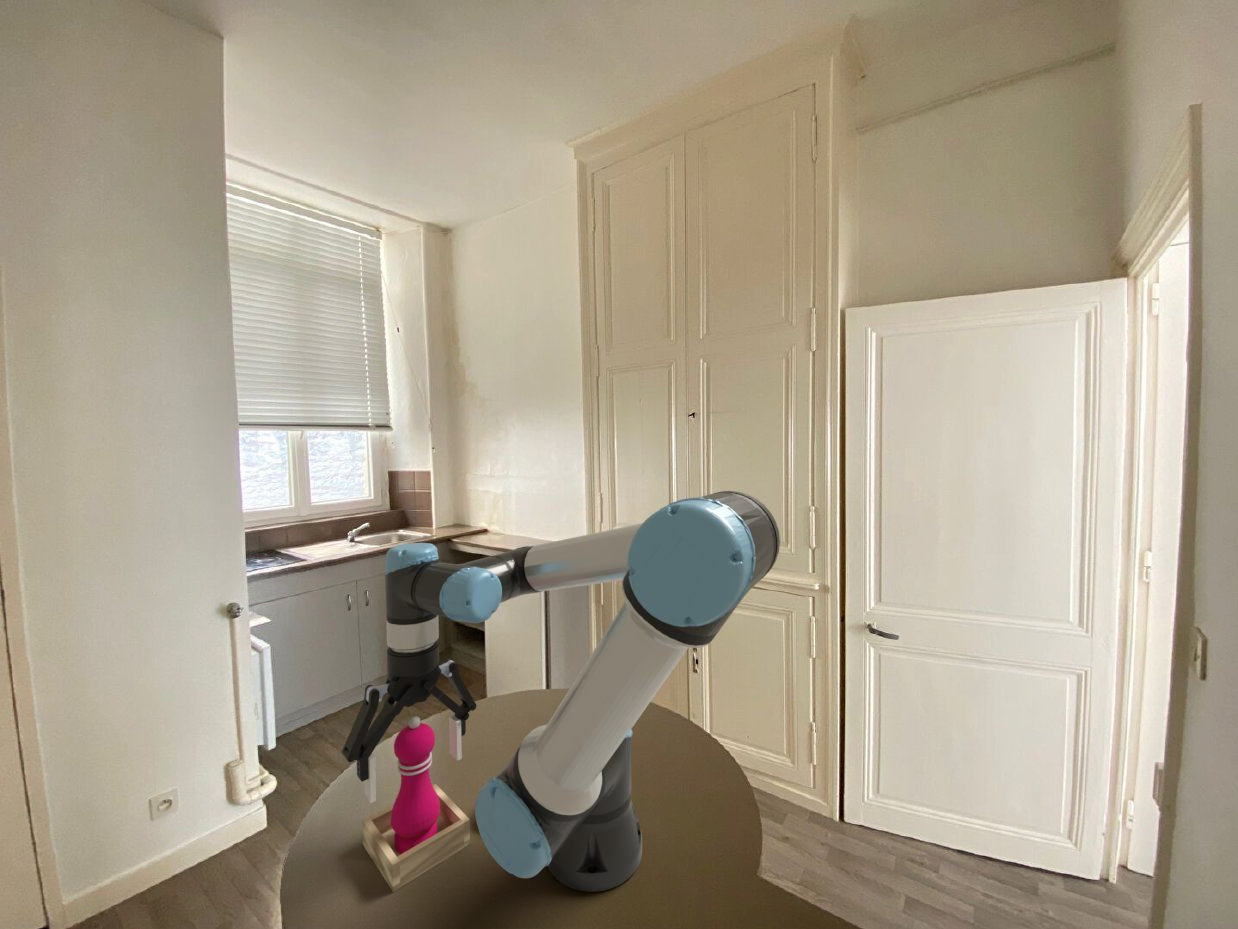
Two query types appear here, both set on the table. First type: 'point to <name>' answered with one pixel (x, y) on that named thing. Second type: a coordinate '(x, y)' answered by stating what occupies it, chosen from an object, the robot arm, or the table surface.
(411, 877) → the tray
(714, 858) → the table surface
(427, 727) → the pepper mill
